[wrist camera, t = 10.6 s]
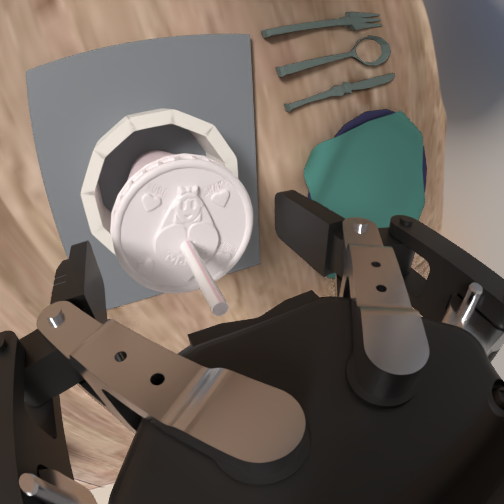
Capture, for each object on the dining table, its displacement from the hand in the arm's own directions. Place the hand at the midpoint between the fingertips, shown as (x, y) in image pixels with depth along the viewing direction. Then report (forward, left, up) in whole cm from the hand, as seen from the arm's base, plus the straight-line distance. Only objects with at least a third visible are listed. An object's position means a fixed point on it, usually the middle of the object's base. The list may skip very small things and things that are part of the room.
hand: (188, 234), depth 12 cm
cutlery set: (+1, +21, -12) cm, 24 cm away
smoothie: (0, 0, -10) cm, 10 cm away
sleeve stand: (0, 0, -11) cm, 11 cm away
